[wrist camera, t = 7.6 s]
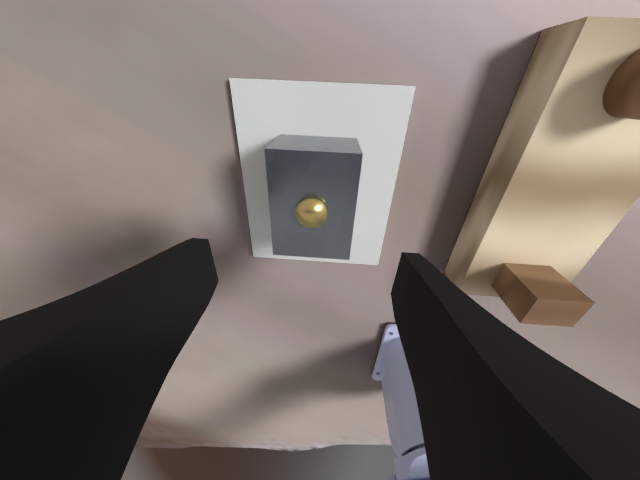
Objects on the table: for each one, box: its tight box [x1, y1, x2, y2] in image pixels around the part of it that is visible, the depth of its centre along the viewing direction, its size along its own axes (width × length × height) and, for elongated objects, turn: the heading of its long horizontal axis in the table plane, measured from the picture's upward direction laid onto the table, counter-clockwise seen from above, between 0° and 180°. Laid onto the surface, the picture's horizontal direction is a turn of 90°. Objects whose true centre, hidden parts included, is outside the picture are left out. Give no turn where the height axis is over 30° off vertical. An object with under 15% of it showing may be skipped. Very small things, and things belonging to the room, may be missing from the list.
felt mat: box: [229, 78, 416, 265], centre depth 16 cm, size 12×10×1 cm
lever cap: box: [264, 134, 363, 260], centre depth 14 cm, size 6×4×4 cm
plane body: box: [444, 17, 640, 327], centre depth 13 cm, size 15×7×6 cm, turn 178°
